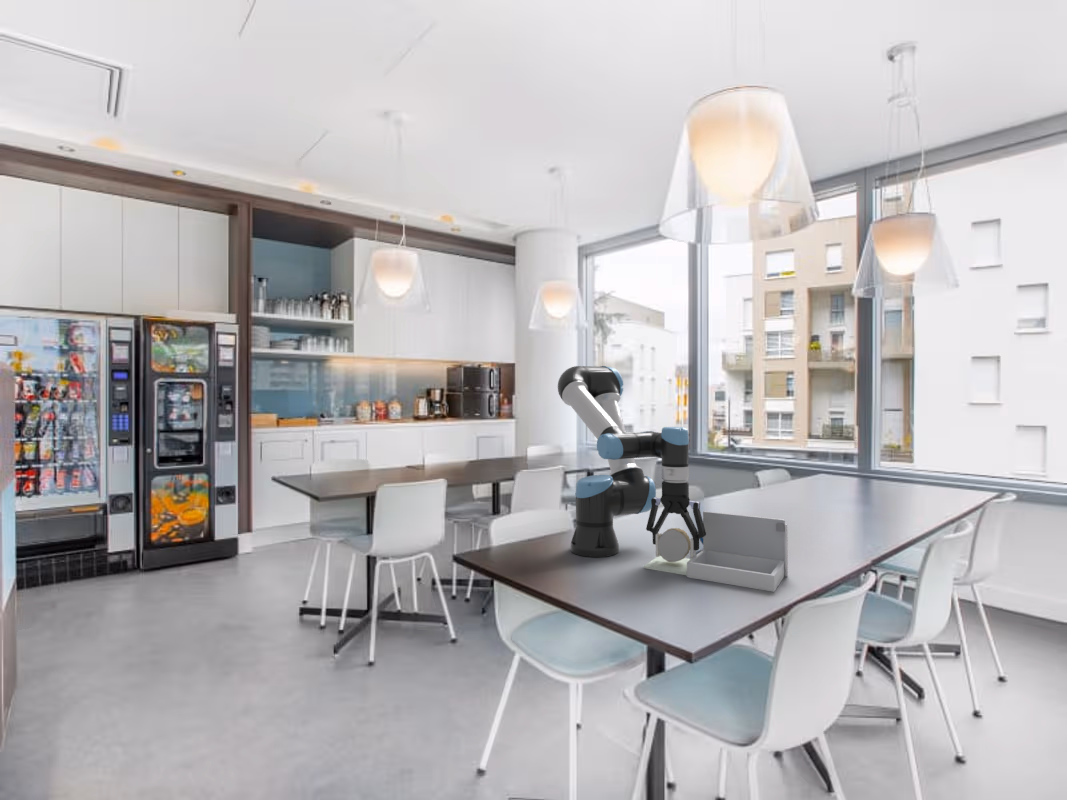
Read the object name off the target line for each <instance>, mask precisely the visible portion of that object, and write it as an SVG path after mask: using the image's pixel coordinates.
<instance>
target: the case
mask: <svg viewBox="0 0 1067 800" xmlns="http://www.w3.org/2000/svg"><path fill="white" fill-rule="evenodd" d="M702 520H703V524H704V528H705V532H706V535H705V536H704V537H703V544H702V547H703V548H702V550H701V551H700V552H698V553H696V556H694V557H693V558H692V559H691V560H689V561H688V562H687V575H686V577H687V578H690V579H695V580H696V579H697V580H702V581H708V582H712V583H713V582H714V583H718V584H725V585H731V586H737V587H743V588H748V589H749V588H750V589H755V590H760V591H766V592H767V591H768V592H773V593H775V592H776V590H777V589H778V587H779V585H780V584H781V582H782V580H784V577H785V578H787V577H789V571H788V570H789V562H788V561H789V558H788V557H789V554H788V553H789V552H788V551H789V550H788V547H789V546H788V545H789V543H788V541H789V539H788V538H789V537H788V533H789V532H788V530H789V528H788V523H786V519H783V518H775V517H774V518H772V517H763V516H755V515H754V516H753V515H752V516H751V515H743V514H733V513H725V512H723V513H722V512H715V511H714V512H713V511H705V510H704V511H703V512H702ZM705 563H706V564H705Z"/></svg>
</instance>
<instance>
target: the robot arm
mask: <svg viewBox="0 0 1067 800" xmlns="http://www.w3.org/2000/svg"><path fill="white" fill-rule="evenodd" d="M623 386H624V380H623V377H622V375H621V373H620V372H619V370H618V369H617V368H615V367H612V366H605V365H600V366H590V365H589V366H587V365H586V366H584V365H575V366H571V367H569V368H567V369H565V370H564V371H563V372H562V373H561V375H560V377H559V379H558V382H557V392H558V395H559V396H560V397H559V398H561V400H562V402H564V404H565V405H566V406H570V407H571V408H572V409H573V411H574V412H575V413H576V414H577V416H578V417H579V418H580V420H581V421H582V422H583V423H584V424H585V425H586V427H587V428H588V429H589V431H590V432H591V433H592V435H593V436H594V437H595V439H596V449H597V453H598V455H599V457H600V459H601V458H602V459H603V460H607V462H608V466H609V468H610V473H609V474H593V475H588V476H584V477H581V478H580V479H578V480H577V482H576V484H575V495H574V496H575V528H574V532H573V534H572V538H571V541H570V551H571V553H573V554H575V555H578V556H581V557H587V558H588V557H589V558H602V557H603V558H605V557H611V556H614V555H616V554H618V553H619V551H620V550H619V549H620V547H619V546H620V545H619V542H618V537H617V535H616V532H615V529H614V516H615V517H616V516H624V515H639V514H641V513H647V512H649V511H650V512H649V514H648V515H649V516H648V519H647V524H646V528H645V530H646V531H647V532H650V533H652V544H653V545H655V558H656V557H659V556H661V555H660V553H659V551H658V540H659V538H660V536H661V534H662V532H660V530H661V528H662V526H663V525H664V522H665V521H666V519H667V517H668V515H669V514H676V515H680V516H681V518H682V519H683V521H684V523H685V524H686V525H685V526H686V527H687V528H688V530H689V532H690V534H691V538H690V551H689V553H690V555H689V556H690V557H689V559H690V560H691V559H692V558H693V557H694V556H696V555H697V551H699V549H700V539H699V538H703V537H704V536H705V535H706V532H705V528H704V524H703V515H702V513H701V509H700V508H701V501H698V500H696V501H694V500H691V499H690V496H689V495H690V494H689V493H690V489H689V487H690V486H689V485H690V484H689V482H688V481H689V478H690V477H689V475H690V474H689V473H690V470H689V469H690V468H689V463H690V460H689V459H690V458H689V456H690V455H689V453H690V449H689V447H690V446H689V445H690V441H689V440H690V439H689V429H687V428H686V427H683V426H664V427H662V429H661V432H657V431H652V430H650V431H648V430H647V431H646V430H645V431H642V432H627V430H626V427H625V423H624V420H623V416H622V412H621V410H620V405H619V401H621V396H622V394H623V392H624V387H623ZM641 458H643V459H645V458H658V459H661V479H662V480H663V481H661V497H657V490H656V484H655V481H654V480H653V478H651V477H650V476H648V475H645V473H644V471H643V468H642V467H640V466H638V465H637V463H636V460H635V459H641ZM660 504H662V506H663V507H664V508H663V509H662V511H661V514H660V516H659V517H658V519H657V521H656V517H657V513H658V509H659V505H660ZM689 506H690V508H691V509H692V513H693V517H694V520H695V523H694V522H693V519H692V518H691V515H690V512H689V510H688V508H689ZM655 521H656V522H655Z"/></svg>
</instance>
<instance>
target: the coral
mask: <svg viewBox="0 0 1067 800" xmlns="http://www.w3.org/2000/svg"><path fill="white" fill-rule="evenodd" d="M690 539H691V538H690V536H689V535H688V533H687V532H686V531H685V530H684V529H681V528H679V527H678V528H677V527H675V528H673V527H671V528H667V530H666V531H664V532H663V533H661V536H660V538H659V540H658V551H659V553H660V555H661V556H662V558H663V559H665V560H666V561H668V562H676V561H679V560H682V559H683V558H687V555H689V553H690Z"/></svg>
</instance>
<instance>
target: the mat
mask: <svg viewBox="0 0 1067 800" xmlns="http://www.w3.org/2000/svg"><path fill="white" fill-rule="evenodd" d="M689 560H690V557H685V558H683V559H682V560H679V561H676V562H668V561H666V560H665V559H663V558H662V556H659V557H656V556H655V558H653V559H651V561H648V562H647V563H646V564H644V565H643V569H647V570H651V571H652V570H653V571H658V572H664V573H671V574H677V575H682V576H687V562H688V561H689ZM705 564H706V563H705Z"/></svg>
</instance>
